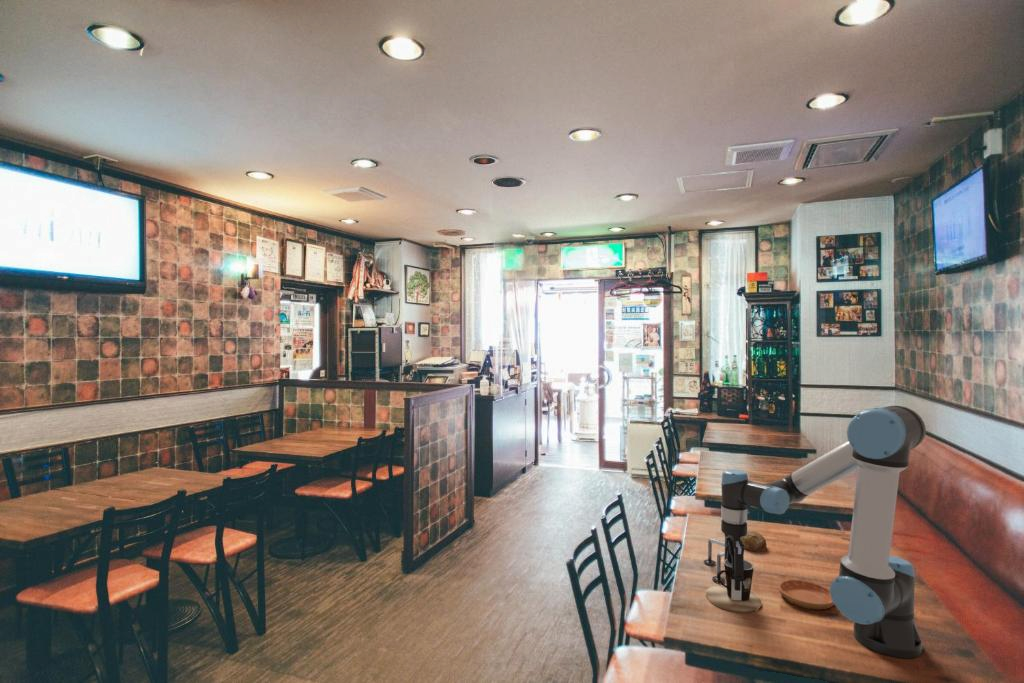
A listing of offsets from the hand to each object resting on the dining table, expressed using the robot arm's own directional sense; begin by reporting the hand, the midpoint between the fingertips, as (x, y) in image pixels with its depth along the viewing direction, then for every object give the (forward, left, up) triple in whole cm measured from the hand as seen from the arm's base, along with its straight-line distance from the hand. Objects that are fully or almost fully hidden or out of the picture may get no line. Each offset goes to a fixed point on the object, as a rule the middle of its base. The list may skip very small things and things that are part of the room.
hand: (733, 594), depth 168 cm
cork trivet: (0, 0, -2) cm, 2 cm away
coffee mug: (0, 0, -1) cm, 1 cm away
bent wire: (+20, -2, -2) cm, 20 cm away
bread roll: (+46, -18, -2) cm, 50 cm away
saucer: (+4, -23, -2) cm, 23 cm away
